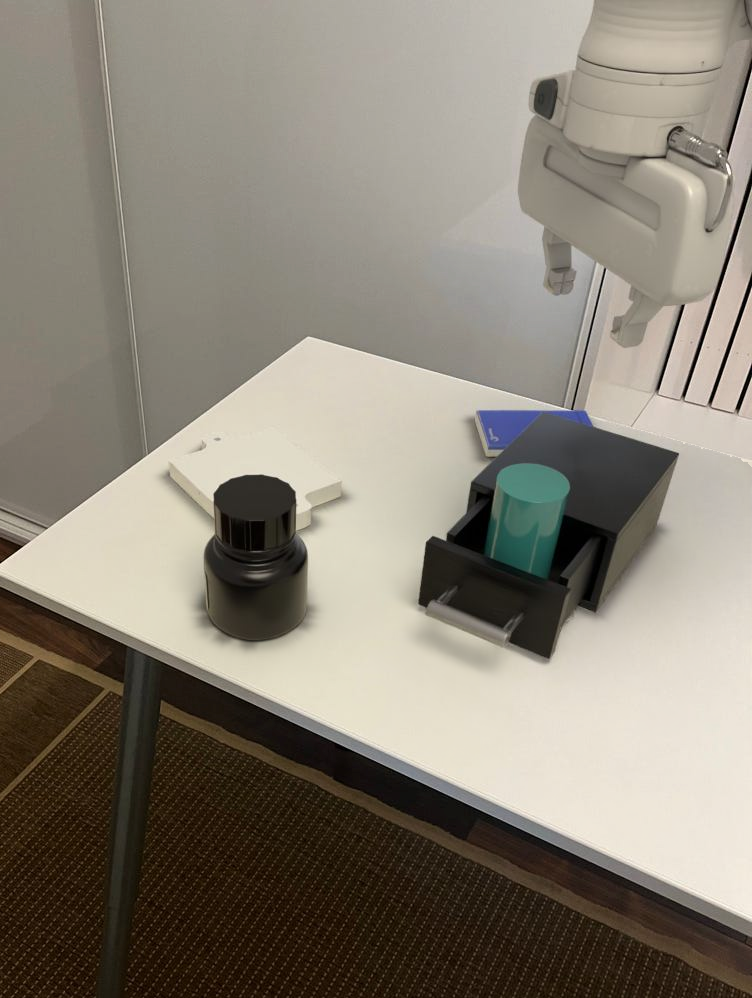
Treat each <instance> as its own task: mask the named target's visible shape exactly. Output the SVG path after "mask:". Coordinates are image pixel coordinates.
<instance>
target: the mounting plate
mask: <svg viewBox="0 0 752 998" xmlns="http://www.w3.org/2000/svg"><path fill="white" fill-rule="evenodd" d="M168 467H169V468H168V469H169V477H170V478H171V479H172V480H173V481H174V482H175V483H176V484H177V485H178V486H179V487H180V488H182V489H183V490H184V491H185V493H186V494H188V495H189V496H190V497H191V498H192V499H193V500H194V501H195V502H196V503H197V504H198V505H199V506H200V507H201V508H202V509H203V510H204V511H205V512H206V513H208V515H209V516H211V517H212V518H213V519H214V506H213V501H214V496H213V494H214V492H215V491H216V490H217V489H218V487H219V485H220V484H223V483H225V482H226V481H228V480H230V479H231V478H236V477H240V476H244V475H260V474H262V475H266V476H271V477H277V478H279V479H280V480H282V481H284V482H286V483H289V484H290V486H291V487H292V488H293V490H295V492H296V532H297V531H300V530H302V529H305V528H308V527H309V526H310V525H311V524H312V508H314V507H317V506H319V505H322V504H325V503H328V502H330V501H333V500H335V499H336V500H337V499H338V498H341V497H342V484H343V483H342V480H341V478H340V477H338V476H336V475H335V474H334V473H333V472H332V471H330V470H329V469H327V467H325V466H324V465H323V464H321V463H320V462H318V460H316V459H315V458H313V457H312V456H311V455H310V454H308V453H307V452H306V451H304V449H302V448H301V447H299V446H298V445H297V444H296V443H295V442H294V441H292V440H291V439H289V438H288V437H287V436H285V435H284V434H283V433H281V432H280V431H279V430H278V429H277V428H275V427H274V426H271V427H268V428H264V429H261V430H259V431H255V432H252V433H249V434H246V435H243V436H240V437H239V436H238V437H234V436H231V435H229V433H227V432H225V431H222V430H217V431H213V432H210V433H207V434H204V435H203V436H202V437H201V450H198V451H194V452H191V453H188V454H185V455H182V456H179V457H176V458H173V459H169V460H168Z"/></svg>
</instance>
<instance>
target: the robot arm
mask: <svg viewBox="0 0 752 998" xmlns="http://www.w3.org/2000/svg"><path fill="white" fill-rule="evenodd" d="M751 40H752V0H593V1H592V9H591V14H590V18H589V21H588V23H587V27H586V29H585V30H584V33H583V35H582V37H581V40H580V42H579V45H578V49H577V55H576V60H575V63H574V69H570V70H565V71H562V72H557V73H553V74H548V75H543V76H539V77H536V78H534V79H533V80H532V82H531V85H530V89H529V94H528V104H527V105H528V109H529V111H530V112H531V113H532V114H533V117H532V118H531V119H530V121H529V122H528V125H527V128H526V131H525V135H524V141H523V146H522V153H521V159H520V168H519V174H518V181H517V197H518V202H519V206H520V210H521V212H522V213H523V214H524V215H526V216H528V217H529V218H531V219H532V220H533V221H535V222H536V223H538V224H539V225H541V226H542V227H543V231H542V237H541V241H542V242H541V243H542V248H543V256H544V264H545V266H546V267H545V274H544V277H543V283H542V285H543V288H544V289H545V290H547V291H548V292H549V293H551V294H552V295H553V296H557V297H558V296H560V295H563V296H564V295H568V294H570V293H571V292H573V290H574V281H575V280H576V276H577V270H576V269H575V268H574V267H573V265H572V262H573V261H572V259H573V258H572V247H574V248H575V249H577V250H578V251H579V252H581V253H582V254H584V255H585V256H587V257H588V258H590V259H591V260H593V261H594V262H596V263H597V264H599V265H600V266H601V267H603V268H604V269H606V270H607V271H609V272H610V273H612V274H614V275H615V276H616V277H618V278H619V279H620V280H622V281H623V282H625V283H626V284H628V285H630V288H629V294H628V300H629V301H631V302H632V303H631V304H630V306H629V308H628V309H627V310H626V312H625V313H624V314H620V315H614V317H613V320H612V327H611V328H612V329H611V330H610V332H609V337H610V339H611V340H612V341H614V342H615V343H616V344H617V345H619V346H620V347H622V348H623V349H626V348H634V347H638V346H640V345H641V344H642V343H643V340H644V338H645V334H646V331H647V327H648V324H649V323H650V322H651V321H652V319H653V318H655V316H656V315H657V314H658V313H659V312H660V311H661V310H662V309H663V307H671V306H672V307H673V306H682V305H689V304H695V303H698V302H702V301H704V300H705V299H707V298H708V297H709V296H710V295H711V294H712V293H714V291H715V290H716V288H717V286H718V283H719V280H720V276H721V272H722V268H723V265H724V261H725V256H726V253H727V247H728V243H729V238H730V233H731V227H732V221H733V215H734V207H735V186H736V175H735V174H734V173H733V169H732V166H731V163H730V161H729V160H728V152H727V150H726V149H725V148H724V147H723V146H721V145H719V144H718V143H715V142H708V141H706V140H704V135H705V132H706V129H707V124H708V121H709V117H710V114H711V111H712V107H713V103H714V100H715V96H716V92H717V88H718V85H719V81H720V78H721V74H722V71H723V67H724V63H725V59H726V56H727V54H728V52H729V50H730V48H731V47H732V46H733V45H734V44H736V43H737V42H739V41H751Z"/></svg>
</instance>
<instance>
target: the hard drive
mask: <svg viewBox="0 0 752 998" xmlns="http://www.w3.org/2000/svg"><path fill="white" fill-rule="evenodd" d="M542 412H546V413H550V414H553V415H556V416H559V417H563V418H566V419H569V420H573V421H576V422H579V423H582V424H586V425H589V426H592V427H594V425H593V423H592V421H591V419H590V416H589V414H588V412H587V410H584V409H576V410H559V409H558V410H554V409H553V410H539V409H537V410H536V409H535V410H534V409H533V410H531V409H527V410H526V409H525V410H524V409H520V410H519V409H517V410H516V409H479V410H478V409H476V410H475V416H474V423H475V426H476V429H477V432H478V435H479V438H480V442H481V444H482V445H481V446H482V448H483V451H484V454H485V456H486V457H489V458H492V457H493V458H494V457H495V458H496V457H497V456H498V455H499V454H500V453H501V452H502V451H503V450H504V449H505V448H506V447H507V446H508V445H509V444H510V443H511V442H512V441H513V440H514V439H515V438H516V437H517V436H518V435H519V434H520V433H521V432H522V431H523V430H525V429H526V428H527V427H528V426H529V425H530V424H531V423H532V422H533V421H534V420H535V419H536V418H537V417H538V416H539V415H540V414H541V413H542Z"/></svg>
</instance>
